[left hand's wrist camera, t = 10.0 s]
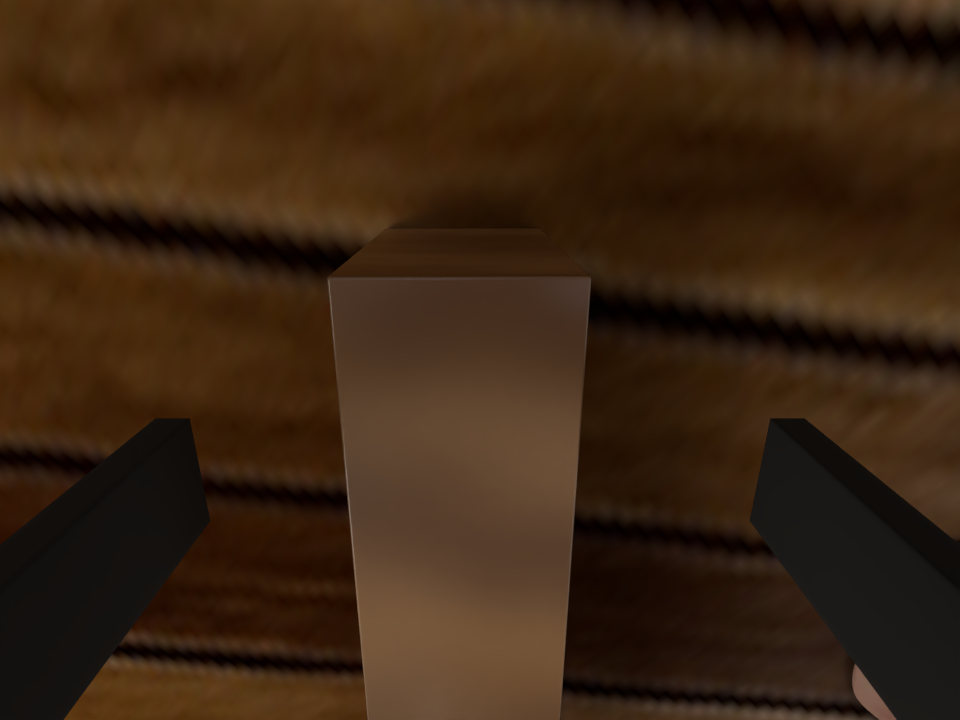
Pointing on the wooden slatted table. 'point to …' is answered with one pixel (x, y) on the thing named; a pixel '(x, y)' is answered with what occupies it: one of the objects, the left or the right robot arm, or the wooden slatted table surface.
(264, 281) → the wooden slatted table surface
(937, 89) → the wooden slatted table surface
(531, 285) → the beam
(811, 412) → the wooden slatted table surface
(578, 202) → the wooden slatted table surface
